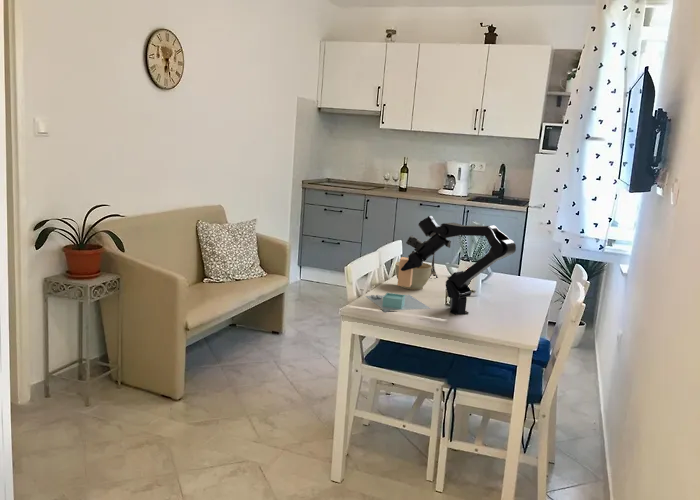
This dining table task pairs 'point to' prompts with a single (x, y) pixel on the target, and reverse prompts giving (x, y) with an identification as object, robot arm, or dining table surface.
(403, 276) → the terracotta brick
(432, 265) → the eiffel tower figurine
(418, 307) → the baseplate
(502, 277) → the dining table surface
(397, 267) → the planter bowl
